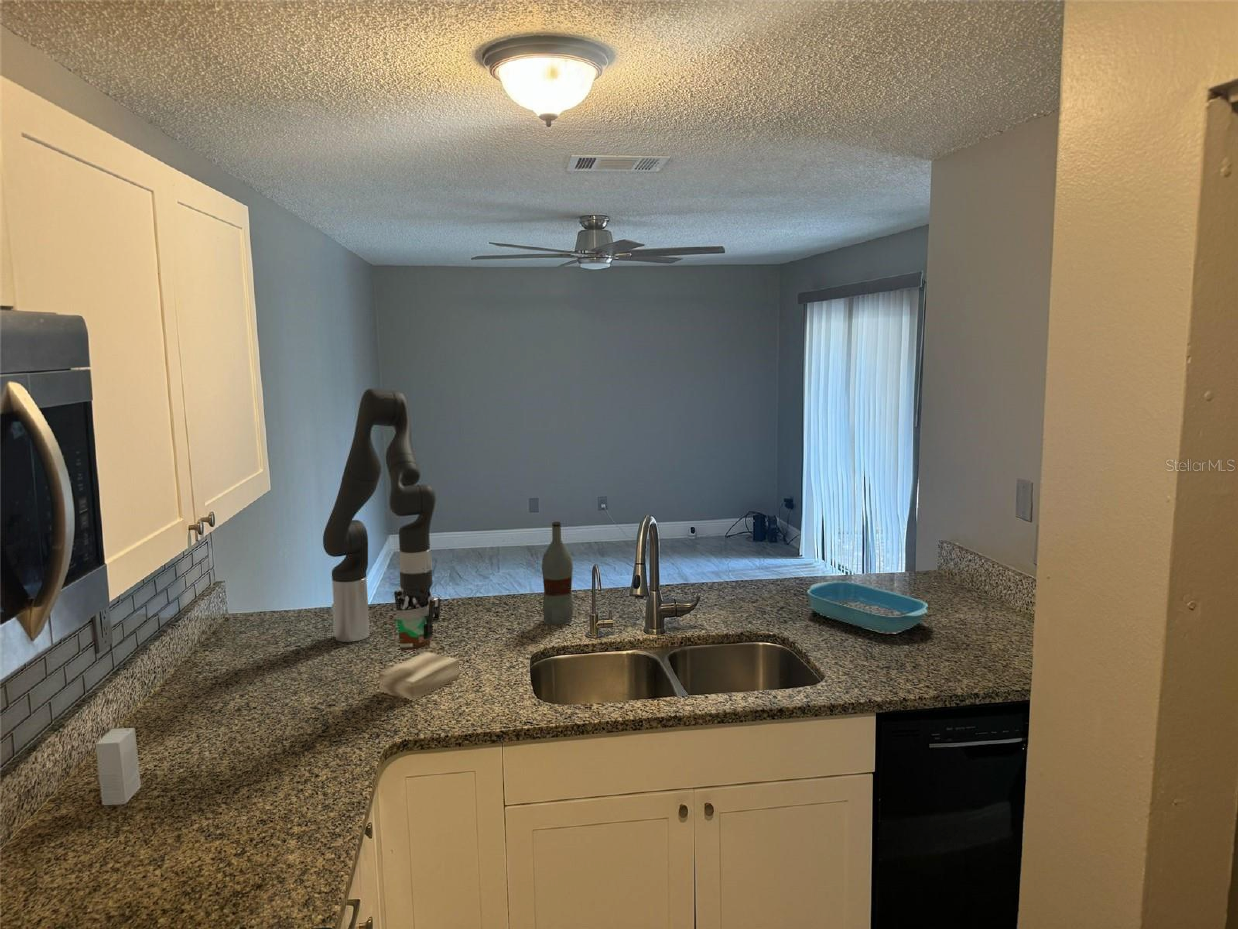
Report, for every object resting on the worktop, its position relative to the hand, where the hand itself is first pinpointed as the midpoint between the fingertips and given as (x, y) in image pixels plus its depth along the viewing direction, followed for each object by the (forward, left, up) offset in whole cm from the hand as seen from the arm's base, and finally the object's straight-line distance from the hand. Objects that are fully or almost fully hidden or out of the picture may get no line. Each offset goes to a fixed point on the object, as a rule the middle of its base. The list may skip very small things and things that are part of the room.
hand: (418, 635), depth 202 cm
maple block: (0, 0, -13) cm, 13 cm away
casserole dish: (+73, +108, -13) cm, 131 cm away
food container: (+1, 0, -2) cm, 2 cm away
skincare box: (-7, -66, -13) cm, 68 cm away
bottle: (-2, +55, -13) cm, 56 cm away
